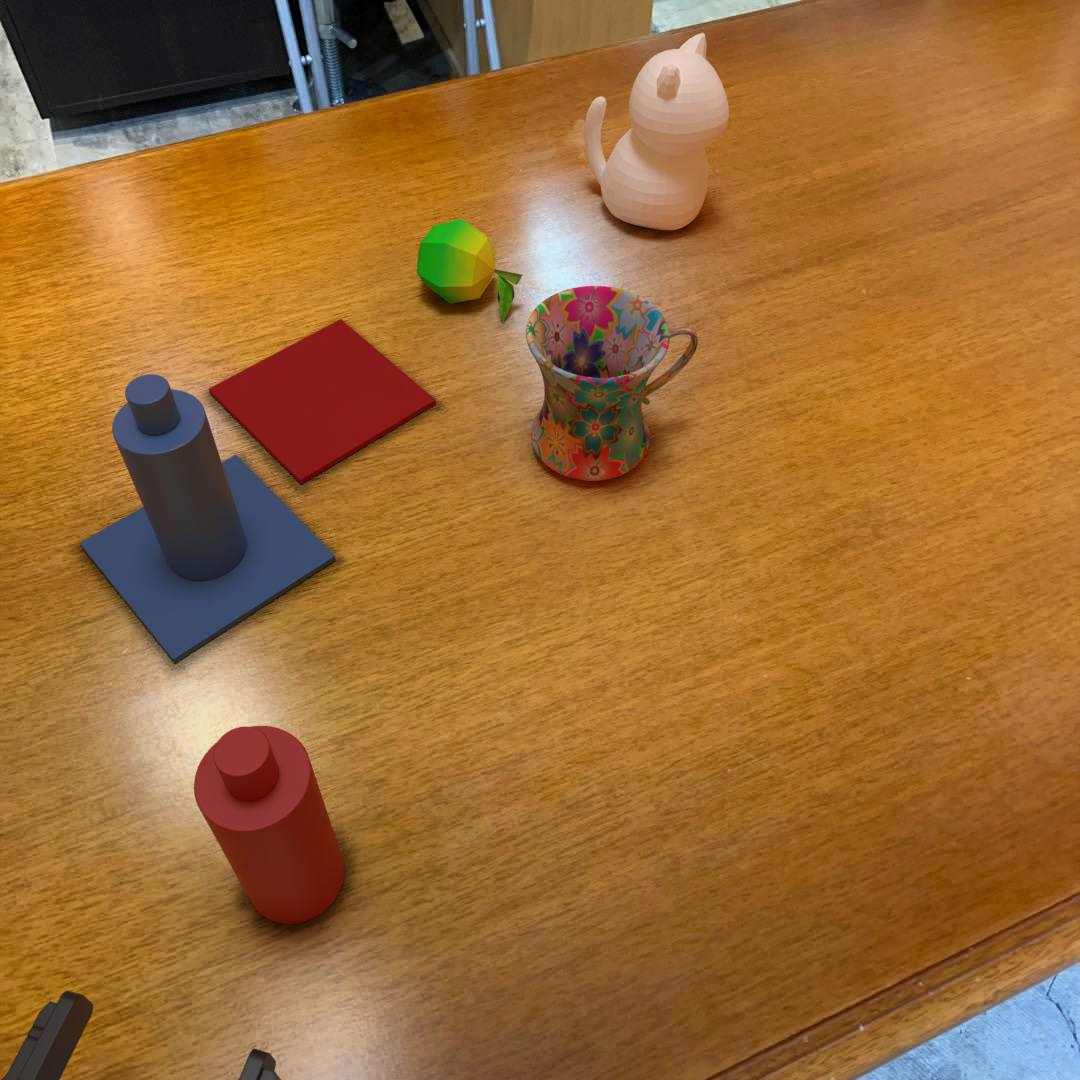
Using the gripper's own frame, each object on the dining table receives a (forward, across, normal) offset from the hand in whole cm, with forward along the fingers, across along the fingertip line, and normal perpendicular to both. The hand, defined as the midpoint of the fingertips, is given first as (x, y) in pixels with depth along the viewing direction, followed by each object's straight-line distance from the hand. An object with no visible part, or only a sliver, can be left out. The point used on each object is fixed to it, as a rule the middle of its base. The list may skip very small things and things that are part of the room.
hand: (171, 1025), depth 46 cm
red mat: (+44, +12, +8) cm, 47 cm away
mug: (+46, -9, +8) cm, 48 cm away
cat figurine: (+74, -6, +8) cm, 75 cm away
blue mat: (+29, +14, +8) cm, 33 cm away
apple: (+59, +6, +8) cm, 60 cm away
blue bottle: (+29, +14, +8) cm, 33 cm away
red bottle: (+10, 0, +8) cm, 13 cm away
